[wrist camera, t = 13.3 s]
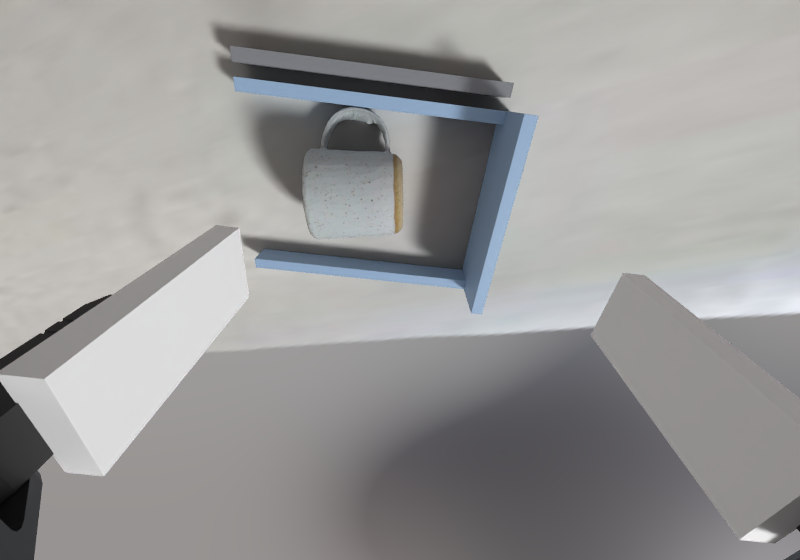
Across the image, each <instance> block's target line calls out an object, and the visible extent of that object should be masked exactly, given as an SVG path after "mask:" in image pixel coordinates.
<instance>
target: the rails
mask: <svg viewBox="0 0 800 560" xmlns="http://www.w3.org/2000/svg"><path fill="white" fill-rule="evenodd" d="M230 53H231V61H232V62H237V63H242V64H248V65H256V66H264V67H272V68H279V69H287V70H295V71H302V72H310V73H318V74H325V75H333V76H341V77H349V78H356V79H364V80H372V81H379V82H387V83H395V84H403V85H410V86H418V87H426V88H433V89H441V90H449V91H456V92H464V93H472V94H480V95H487V96H495V97H507V98H510V97H511V93H512V89H513V85H514V83H510V82H502V81H495V80H487V79H479V78H472V77H464V76H457V75H449V74H441V73H434V72H426V71H419V70H411V69H404V68H396V67H388V66H381V65H373V64H366V63H358V62H350V61H343V60H335V59H328V58H320V57H313V56H305V55H297V54H290V53H282V52H275V51H267V50H259V49H252V48H244V47H237V46H230Z"/></svg>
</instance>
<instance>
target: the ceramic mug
mask: <svg viewBox="0 0 800 560" xmlns="http://www.w3.org/2000/svg"><path fill="white" fill-rule="evenodd" d="M345 120H357V121H363V122H366V123H367V124H372V123H374V124H376V125H377V126H378V128H379V129H380V131H381V132H382V134H383V138H384V140H385V151H384V152H380V151H349V150H328V143H329V139H330V136H331V134H332V131H333V129H334V128H335V126H336V125H337V124H338V123H339V122H341V121H345ZM302 196H303V205H304V212H305V216H306V221H307V225H308V229H309V231H310V233H311V234H312V236H313V237H314V238H316V239H330V238H351V237H366V236H386V235H391V234H396V233H398V232H399V231H400V230H401V229H402V225H403V174H402V161H401V159H400V158H399V157H398V156H397V155H395V154H391V152H390V140H389V135H388V131H387V129H386V126H385V124H384V122H383V121H382V120H381V119H380V118H379V116H377V115H376V114H375V113H374V112H372V111H370V110H367V109H365V108H359V107H348V108H343V109H341V110H339V111H337V112H336V113H335V114H334V115H333V116H332V117H331V118H330V119H329V121H328V122H327V124H326V126H325V129H324V132H323V134H322V139H321V145H320V148H319V149H309V150H308V151H307V152H306V154H305V157H304V162H303V167H302Z"/></svg>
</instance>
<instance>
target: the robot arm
mask: <svg viewBox="0 0 800 560" xmlns="http://www.w3.org/2000/svg"><path fill="white" fill-rule="evenodd" d="M248 298H249V291H248V284H247V278H246V271H245V264H244V257H243V250H242V243H241V236H240V230H239V228H235V227H227V226H218V225H216V226H214V227H213V228H211V229H210V230H208V231H207V232H205V233H204V234H202V235H201V236H200V237H198V238H197V239H195V240H194V241H192V242H191V243H189V244H188V245H186V246H185V247H183V248H182V249H180V250H179V251H177V252H176V253H174V254H173V255H171V256H170V257H168V258H167V259H165V260H164V261H162V262H161V263H159V264H158V265H156V266H155V267H153V268H152V269H150V270H149V271H147V272H146V273H144V274H143V275H141V276H140V277H138V278H137V279H135V280H134V281H132V282H131V283H129V284H128V285H126V286H125V287H123V288H122V289H121V290H119V291H118V292H116V293H115V294H113V295H108V296H105V297H103V298H100V299H98V300H95V301H93V302H90V303H88V304H85V305H83V306H82V307H80V308H79V309H77V310H76V311H74V312H73V313H71V314H69V315H68V316H66V317H65V318H63V321H62V322H57V323H55V324H54V325H52V326H51V327H49V328H48V329H46V330H45V333H44V334H38V335H37V336H35V337H34V338H32V339H31V340H29V341H28V342H26V343H24V344H23V345H21V346H20V347H18V348H17V349H15V350H14V351H12V352H10V353H9V354H7V355H6V356H4V357H3V358H1V359H0V560H34V553H35V544H36V535H37V526H38V518H39V509H40V500H41V491H42V479H41V475H40V473H39V472H38V471H37V470H38V469H39V468H40V467H41V466H42V465H43V464H44V463H45V462H46V461H47V460H48V459H49V458H50V457H51V456H52V455H53V456H54V457H55V459H56V460H57V462H58V463H59V464H60V466H61V467H62V469H63V470H64V471H65V472H66V473H76V474H86V475H96V476H105V474H106V473H107V472H108V471H109V470H110V468H111V467H112V466H113V464H114V463H115V462H116V461H117V460H118V458H119V457H120V456H121V455H122V453H123V452H124V451H125V450H126V449H127V447H128V446H129V445H130V443H131V442H132V441H133V440H134V439H135V437H136V436H137V435H138V434H139V432H140V431H141V430H142V429H143V427H144V426H145V425H146V424H147V423H148V421H149V420H150V419H151V418H152V416H153V415H154V414H155V413H156V411H157V410H158V409H159V408H160V406H161V405H162V404H163V402H164V401H165V400H166V399H167V398H168V396H169V395H170V394H171V393H172V391H173V390H174V389H175V388H176V387H177V385H178V384H179V383H180V382H181V380H182V379H183V378H184V377H185V376H186V374H187V373H188V372H189V371H190V369H191V368H192V367H193V366H194V364H195V363H196V362H197V361H198V359H199V358H200V357H201V356H202V355H203V353H204V352H205V351H206V350H207V348H208V347H209V346H210V345H211V343H212V342H213V341H214V340H215V338H216V337H217V336H218V335H219V333H220V332H221V331H222V330H223V329H224V327H225V326H226V325H227V324H228V322H229V321H230V320H231V319H232V317H233V316H234V315H235V314H236V312H237V311H238V310H239V309H240V308H241V306H242V305H243V304H244V303H245V301H246V300H247V299H248ZM591 336H592V338H593V339H594V340H595V342H596V343H597V344H598V346H599V347H600V349H601V350H602V351H603V353H604V354H605V355H606V357H607V358H608V359H609V361H610V362H611V364H612V365H613V366H614V368H615V369H616V371H617V372H618V373H619V375H620V376H621V378H622V379H623V380H624V381H625V383H626V384H627V386H628V387H629V389H630V390H631V391H632V393H633V394H634V395H635V397H636V398H637V400H638V401H639V402H640V404H641V405H642V406H643V408H644V409H645V411H646V412H647V413H648V415H649V416H650V418H651V419H652V420H653V422H654V423H655V424H656V425H657V427H658V429H659V430H660V431H661V433H662V434H663V435H664V437H665V438H666V439H667V441H668V442H669V444H670V445H671V446H672V448H673V449H674V450H675V452H676V453H677V455H678V456H679V457H680V459H681V460H682V462H683V463H684V464H685V466H686V467H687V468H688V470H689V471H690V472H691V474H692V475H693V477H694V478H695V480H696V481H697V482H698V484H699V485H700V486H701V488H702V489H703V491H704V492H705V493H706V495H707V496H708V497H709V499H710V500H711V501H712V503H713V504H714V506H715V507H716V508H717V510H718V511H719V513H720V514H721V515H722V517H723V518H724V519H725V521H726V522H727V524H728V525H729V526H730V528H731V529H732V531H733V532H734V533H735V535H736V536H737V537H738V539H739V540H746V541H756V542H766V543H776V542H777V541H779V540H780V539H782V538H783V537H785V536H786V535H788V534H789V533H791V532H792V531H794V530H795V529H798V530H799V531H800V399H799V398H798V397H797V396H796V395H794V394H793V393H792V392H791V391H789V390H788V389H787V388H785V387H784V386H783V385H782V384H781V383H779V382H778V381H777V380H775V379H774V378H773V377H772V376H771V375H769V374H768V373H767V372H766V371H764V370H763V369H762V368H760V367H759V366H758V365H757V364H755V363H754V362H753V361H752V360H750V359H749V358H748V357H747V356H745V355H744V354H743V353H741V352H740V351H739V350H738V349H737V348H735V347H734V346H733V345H732V344H730V343H729V342H728V341H726V340H725V339H724V338H723V337H721V336H720V335H719V334H718V333H716V332H715V331H714V330H713V329H711V328H710V327H709V326H708V325H706V324H705V323H704V322H703V321H701V320H700V319H699V318H698V317H696V316H695V315H694V314H693V313H691V312H690V311H689V310H688V309H686V308H685V307H684V306H683V305H681V304H680V303H679V302H678V301H676V300H675V299H674V298H673V297H671V296H670V295H669V294H667V293H666V292H665V291H664V290H662V289H661V288H660V287H659V286H657V285H656V284H655V283H654V282H652V281H651V280H650V279H649V278H647V277H646V276H645V275H636V274H628V273H623V274H622V276H621V278H620V280H619V282H618V284H617V285H616V287H615V289H614V291H613V293H612V295H611V297H610V299H609V301H608V303H607V305H606V307H605V309H604V311H603V312H602V314H601V316H600V318H599V320H598V322H597V324H596V326H595V328H594V330H593V332H592V334H591ZM784 560H800V550H799V551H797V552H796V553H794V554H793V555H791V556H789V557H788V558H786V559H784Z"/></svg>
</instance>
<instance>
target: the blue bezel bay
mask: <svg viewBox="0 0 800 560" xmlns="http://www.w3.org/2000/svg"><path fill="white" fill-rule="evenodd" d="M233 78H234V87H235V91H239V92H247V93H254V94H262V95H270V96H278V97H286V98H294V99H302V100H310V101H318V102H326V103H334V104H342V105H350V106H357V107H365V108H373V109H381V110H389V111H397V112H405V113H413V114H421V115H429V116H437V117H445V118H453V119H460V120H468V121H476V122H484V123H492V124H496V127H495V131H494V135H493V140H492V144H491V148H490V153H489V157H488V161H487V165H486V170H485V174H484V178H483V183H482V187H481V191H480V196H479V200H478V204H477V208H476V213H475V217H474V221H473V226H472V230H471V234H470V239H469V243H468V247H467V252H466V256H465V260H464V264H463V269H462V270H459V269H449V268H440V267H430V266H421V265H412V264H402V263H393V262H384V261H374V260H365V259H356V258H346V257H337V256H327V255H318V254H309V253H299V252H290V251H281V250H271V249H263V251H262V252H261V253H260V254H259V255H258V256H257V257H256V258H255V263H256V267H258V268H268V269H277V270H287V271H297V272H306V273H316V274H325V275H335V276H345V277H354V278H364V279H373V280H383V281H393V282H402V283H412V284H421V285H431V286H441V287H450V288H460V289H464V291H465V294H466V298H467V301H468V304H469V308H470V311H471V313H473V314H482V311H483V308H484V304H485V301H486V297H487V294H488V290H489V287H490V283H491V280H492V276H493V273H494V269H495V266H496V262H497V259H498V255H499V252H500V248H501V245H502V241H503V238H504V235H505V231H506V228H507V224H508V221H509V217H510V214H511V210H512V207H513V203H514V200H515V196H516V193H517V189H518V186H519V182H520V179H521V175H522V172H523V168H524V165H525V161H526V158H527V154H528V151H529V147H530V144H531V140H532V137H533V133H534V130H535V127H536V123H537V120H538V116H536V115H529V114H522V113H515V112H508V111H500V110H493V109H485V108H477V107H469V106H461V105H454V104H446V103H438V102H430V101H422V100H415V99H407V98H399V97H391V96H383V95H376V94H368V93H360V92H352V91H344V90H336V89H329V88H321V87H313V86H305V85H297V84H290V83H282V82H274V81H266V80H258V79H251V78H242V77H234V76H233Z"/></svg>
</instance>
